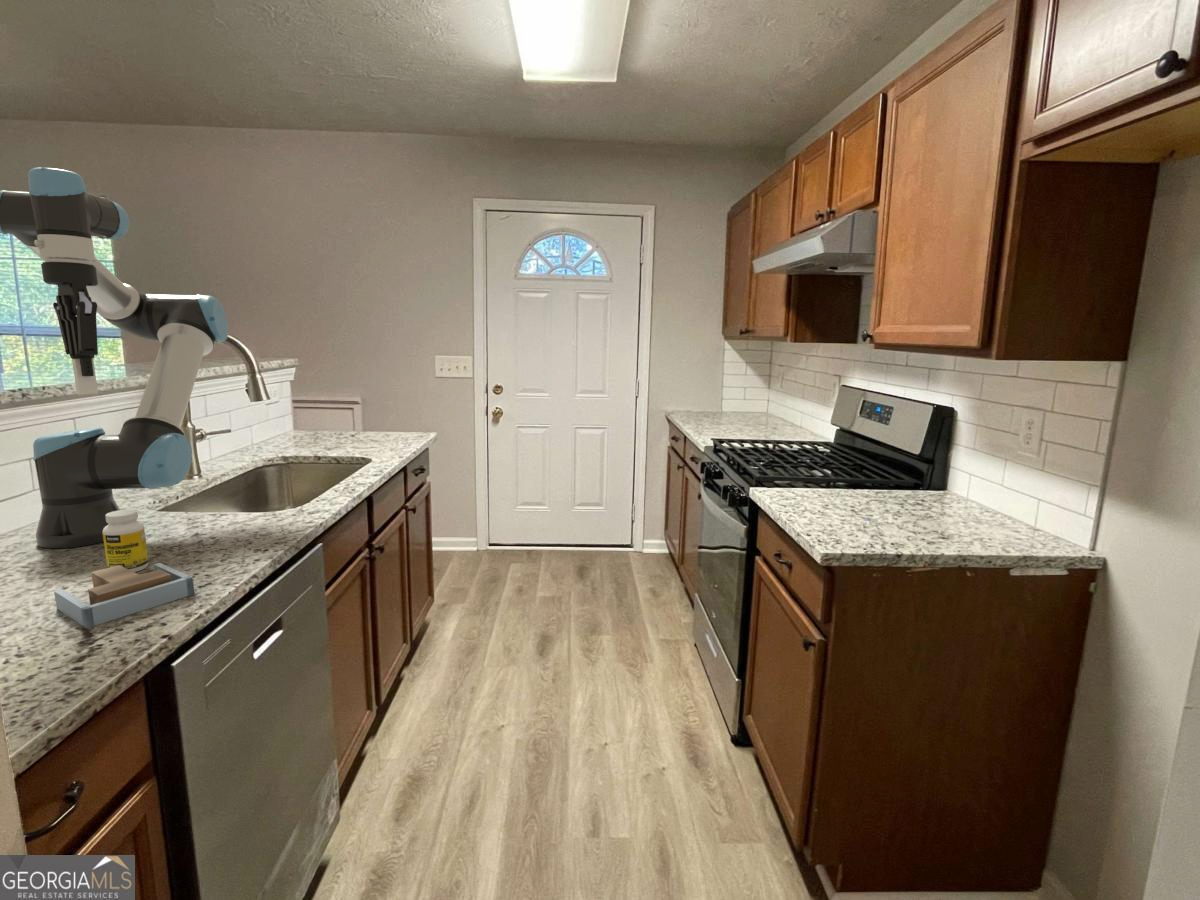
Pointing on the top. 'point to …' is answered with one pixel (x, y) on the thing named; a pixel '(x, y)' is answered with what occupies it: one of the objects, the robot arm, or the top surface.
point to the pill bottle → (125, 541)
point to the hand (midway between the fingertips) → (87, 393)
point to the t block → (122, 582)
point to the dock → (126, 600)
